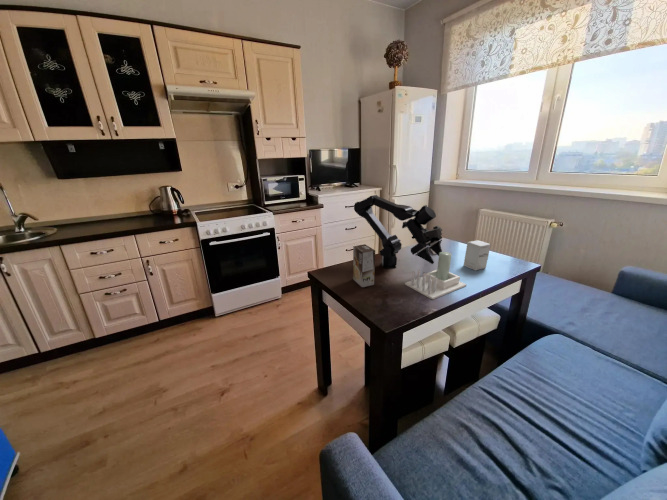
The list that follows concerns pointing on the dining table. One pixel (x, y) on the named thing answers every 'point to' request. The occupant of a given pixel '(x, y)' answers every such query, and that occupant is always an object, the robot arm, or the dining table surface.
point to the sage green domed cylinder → (443, 265)
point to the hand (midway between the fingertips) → (438, 260)
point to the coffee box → (363, 265)
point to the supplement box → (476, 255)
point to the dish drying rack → (435, 284)
